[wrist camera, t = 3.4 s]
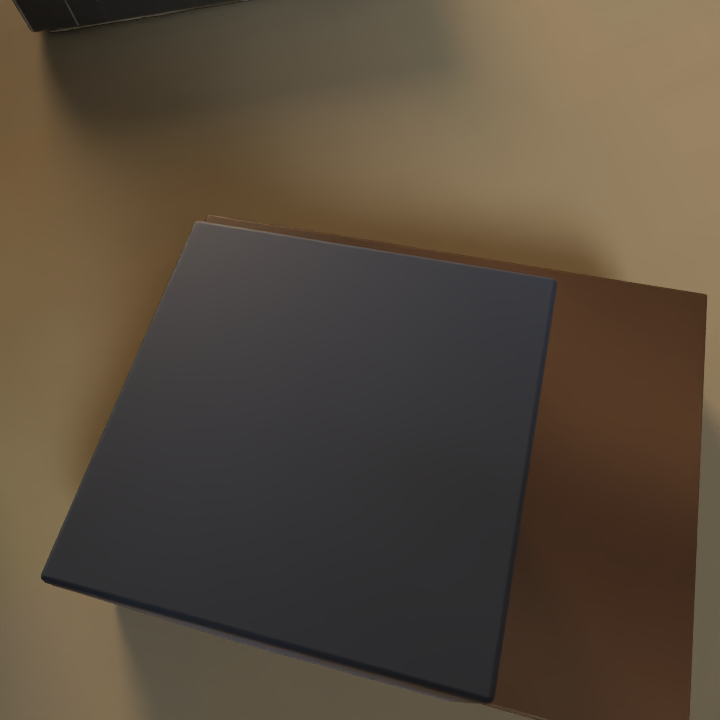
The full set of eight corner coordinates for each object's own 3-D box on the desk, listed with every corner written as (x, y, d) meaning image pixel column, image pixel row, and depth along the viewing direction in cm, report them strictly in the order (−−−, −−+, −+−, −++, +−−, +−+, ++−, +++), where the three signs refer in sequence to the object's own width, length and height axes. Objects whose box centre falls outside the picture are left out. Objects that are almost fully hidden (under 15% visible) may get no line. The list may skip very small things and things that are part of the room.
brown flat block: (641, 750, 15) (688, 761, 12) (105, 601, 17) (48, 584, 15) (668, 349, 19) (708, 293, 17) (233, 273, 22) (207, 213, 19)
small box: (453, 702, 13) (494, 707, 6) (232, 640, 14) (35, 579, 7) (493, 476, 15) (559, 276, 8) (295, 433, 16) (194, 217, 9)
